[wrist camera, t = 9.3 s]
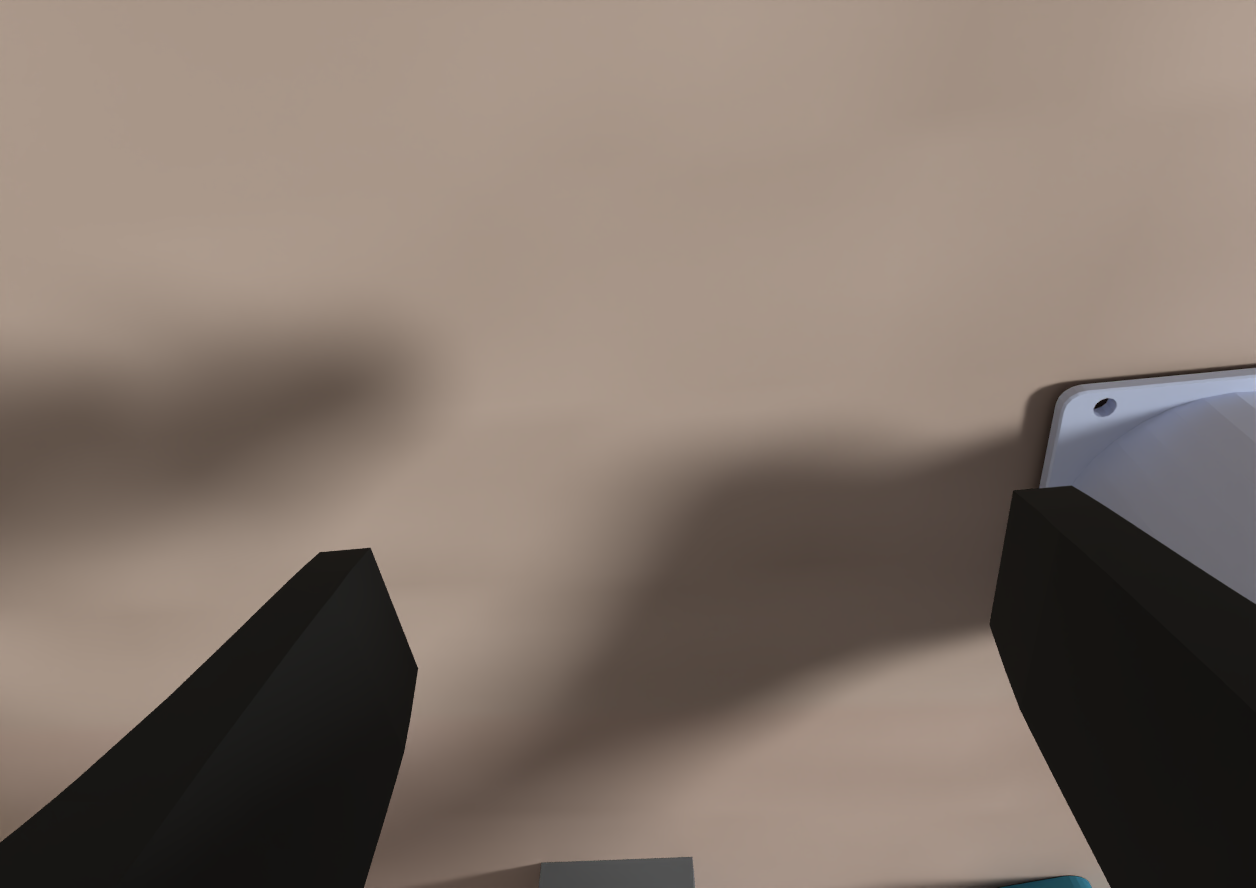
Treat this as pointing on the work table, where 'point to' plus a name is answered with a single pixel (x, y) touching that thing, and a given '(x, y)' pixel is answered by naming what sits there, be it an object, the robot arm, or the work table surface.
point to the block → (1055, 883)
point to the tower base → (619, 873)
